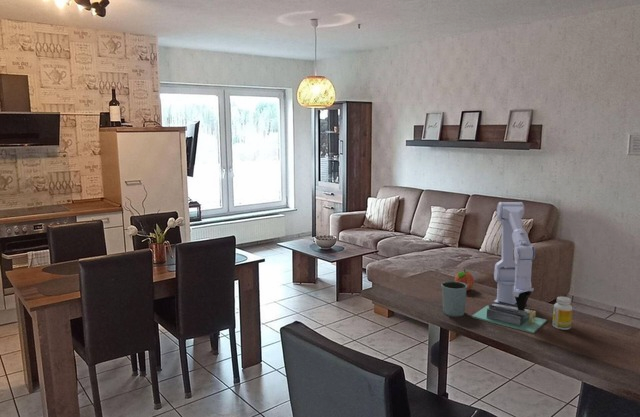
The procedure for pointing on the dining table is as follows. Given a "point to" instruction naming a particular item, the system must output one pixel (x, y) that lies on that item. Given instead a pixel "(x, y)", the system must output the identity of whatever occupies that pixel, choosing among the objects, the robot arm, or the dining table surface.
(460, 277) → the fruit
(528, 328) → the circuit board
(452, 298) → the green cup
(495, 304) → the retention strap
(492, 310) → the heat sink
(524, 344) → the dining table surface
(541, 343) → the dining table surface
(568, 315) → the supplement bottle
